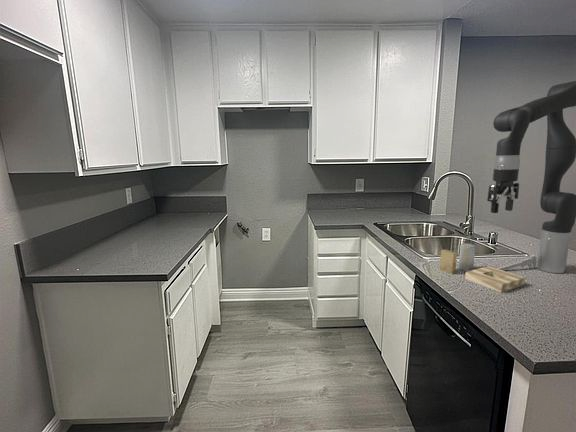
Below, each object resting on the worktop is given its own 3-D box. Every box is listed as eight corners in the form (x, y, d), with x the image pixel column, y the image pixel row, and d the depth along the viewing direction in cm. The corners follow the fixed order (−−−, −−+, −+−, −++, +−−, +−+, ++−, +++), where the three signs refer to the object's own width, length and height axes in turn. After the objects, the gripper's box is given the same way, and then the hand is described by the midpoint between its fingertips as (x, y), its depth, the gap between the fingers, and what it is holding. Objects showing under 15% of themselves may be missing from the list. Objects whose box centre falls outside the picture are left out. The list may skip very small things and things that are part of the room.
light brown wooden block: (442, 268, 135) (444, 249, 134) (455, 273, 130) (456, 253, 128) (439, 269, 135) (441, 249, 133) (451, 274, 129) (453, 253, 127)
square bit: (464, 267, 137) (466, 243, 135) (473, 269, 133) (475, 245, 131) (458, 268, 135) (460, 244, 133) (466, 271, 132) (469, 246, 129)
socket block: (487, 272, 129) (488, 266, 129) (524, 284, 117) (525, 277, 116) (465, 279, 124) (465, 272, 123) (501, 292, 111) (501, 284, 111)
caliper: (533, 268, 134) (535, 254, 133) (535, 268, 133) (537, 255, 132) (492, 272, 131) (493, 257, 130) (494, 272, 130) (495, 258, 129)
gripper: (507, 166, 118) (503, 208, 121) (483, 168, 112) (479, 212, 115) (529, 167, 111) (523, 211, 114) (504, 169, 106) (499, 215, 109)
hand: (501, 211), depth 115 cm, fingers open, 8 cm apart
